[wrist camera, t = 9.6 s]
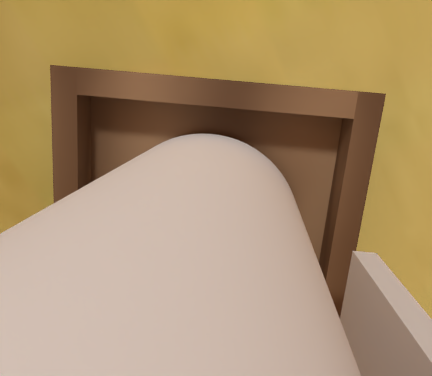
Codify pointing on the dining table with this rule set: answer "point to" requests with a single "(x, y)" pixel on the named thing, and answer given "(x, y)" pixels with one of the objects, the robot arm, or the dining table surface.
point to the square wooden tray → (234, 128)
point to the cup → (170, 274)
